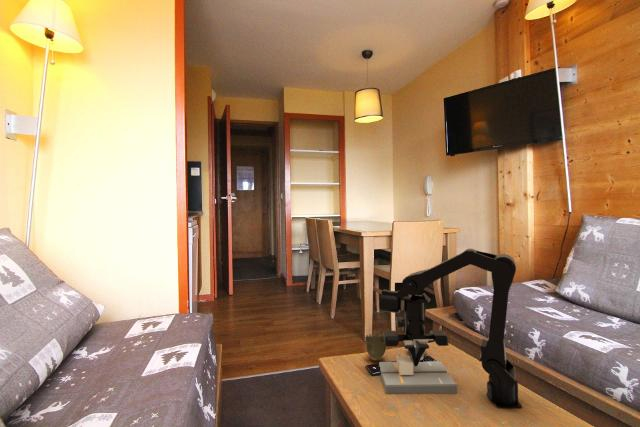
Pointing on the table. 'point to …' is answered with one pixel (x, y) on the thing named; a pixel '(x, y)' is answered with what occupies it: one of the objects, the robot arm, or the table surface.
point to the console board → (417, 379)
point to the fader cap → (404, 365)
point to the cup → (375, 347)
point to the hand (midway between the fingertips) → (415, 365)
